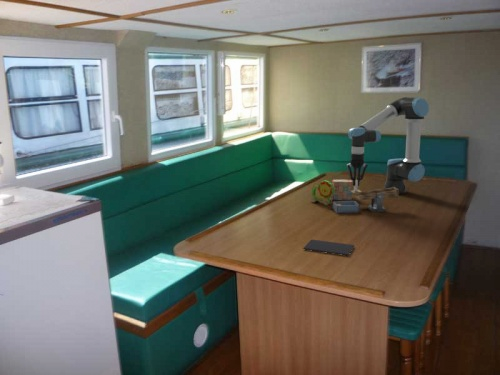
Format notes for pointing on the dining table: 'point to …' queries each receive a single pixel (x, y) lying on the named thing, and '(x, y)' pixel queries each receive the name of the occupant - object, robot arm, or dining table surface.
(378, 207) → the fulcrum
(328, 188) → the toy lion
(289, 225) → the dining table surface
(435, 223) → the dining table surface
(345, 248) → the notebook
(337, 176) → the dining table surface
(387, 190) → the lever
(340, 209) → the tray
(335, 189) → the stack of blocks
